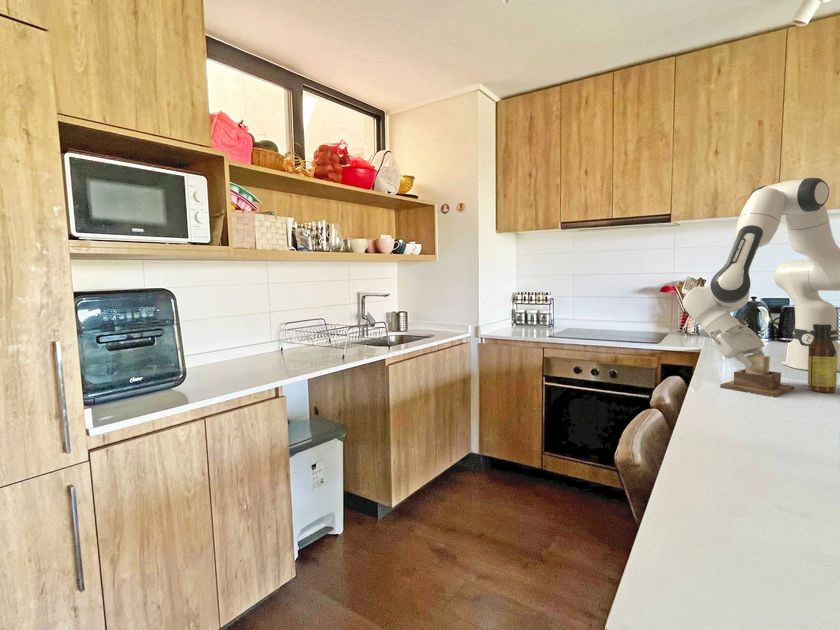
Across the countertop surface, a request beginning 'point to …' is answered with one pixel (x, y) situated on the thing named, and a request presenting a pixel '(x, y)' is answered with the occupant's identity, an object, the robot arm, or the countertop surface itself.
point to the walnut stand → (758, 383)
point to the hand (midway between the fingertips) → (759, 364)
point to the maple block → (759, 365)
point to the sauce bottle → (822, 360)
